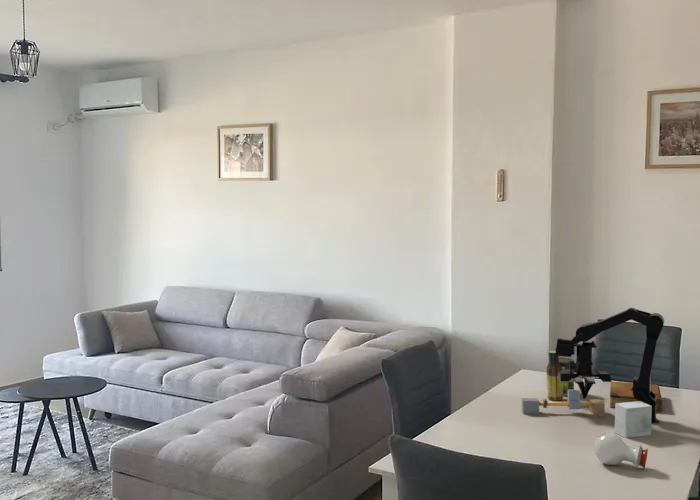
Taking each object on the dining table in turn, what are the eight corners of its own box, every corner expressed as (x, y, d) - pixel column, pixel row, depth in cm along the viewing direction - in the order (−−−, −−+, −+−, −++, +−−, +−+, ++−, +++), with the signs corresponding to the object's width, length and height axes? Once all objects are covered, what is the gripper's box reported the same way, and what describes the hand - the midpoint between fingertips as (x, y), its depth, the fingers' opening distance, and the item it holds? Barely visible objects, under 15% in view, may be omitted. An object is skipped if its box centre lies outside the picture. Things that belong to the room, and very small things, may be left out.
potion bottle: (591, 463, 211) (643, 478, 204) (589, 454, 204) (642, 468, 197) (598, 435, 215) (649, 448, 208) (595, 425, 208) (648, 438, 201)
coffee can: (574, 396, 283) (574, 363, 283) (549, 394, 286) (548, 361, 286) (574, 390, 293) (574, 357, 292) (549, 388, 296) (549, 356, 296)
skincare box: (626, 438, 230) (626, 408, 230) (614, 432, 237) (614, 403, 236) (652, 435, 233) (652, 405, 233) (639, 429, 239) (639, 400, 239)
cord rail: (600, 411, 262) (600, 397, 262) (604, 415, 256) (604, 402, 256) (521, 410, 265) (521, 397, 265) (523, 414, 259) (523, 401, 259)
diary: (662, 413, 259) (662, 399, 259) (609, 409, 266) (610, 395, 266) (659, 397, 281) (659, 384, 280) (610, 394, 287) (610, 380, 287)
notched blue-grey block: (578, 406, 262) (578, 389, 261) (580, 409, 258) (580, 391, 258) (567, 406, 262) (567, 389, 262) (569, 409, 259) (569, 391, 258)
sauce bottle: (561, 397, 282) (561, 350, 281) (564, 401, 276) (564, 353, 275) (545, 397, 283) (545, 350, 282) (548, 401, 277) (548, 353, 276)
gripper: (603, 353, 266) (603, 393, 267) (555, 353, 268) (554, 392, 269) (611, 360, 255) (611, 401, 256) (560, 359, 257) (560, 400, 257)
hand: (584, 398), depth 260 cm, fingers closed
